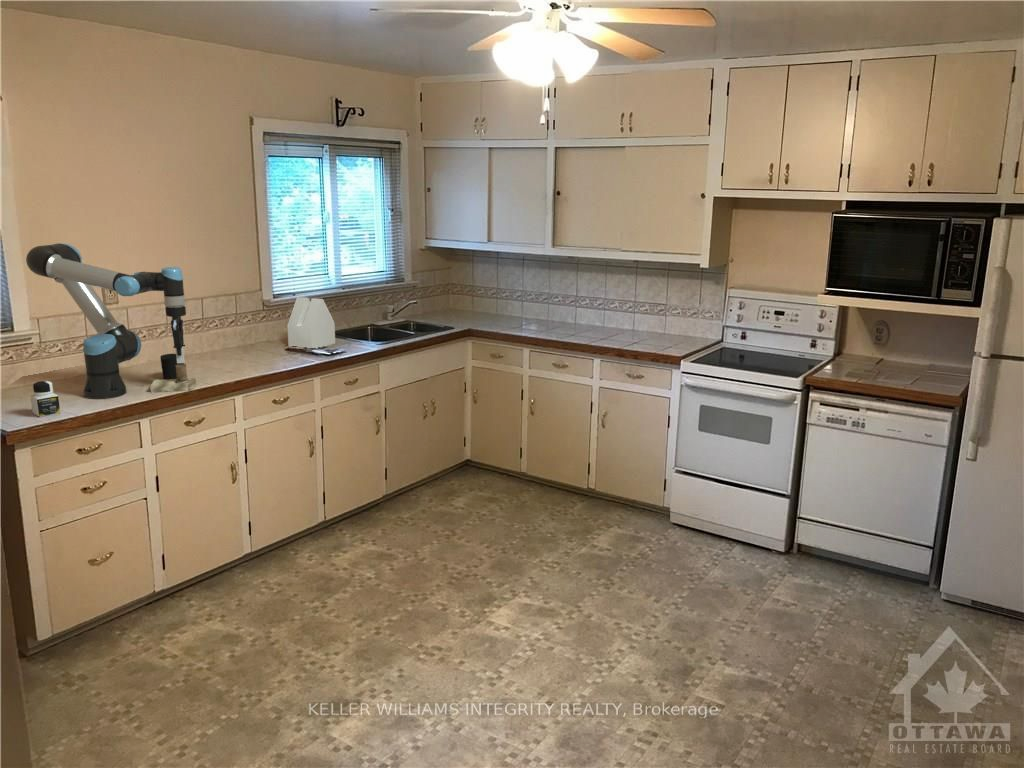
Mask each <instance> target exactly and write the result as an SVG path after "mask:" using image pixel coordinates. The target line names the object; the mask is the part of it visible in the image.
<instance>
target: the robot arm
mask: <svg viewBox="0 0 1024 768" xmlns="http://www.w3.org/2000/svg"><path fill="white" fill-rule="evenodd" d="M25 263H26V265H27V267H28V269H29V270H30V271H31V272H32V273H33V274H35V275H37V276H40V277H41V276H42V277H44V278H50V279H54V281H55V282H56V283H59V284H62V285H63V287H64V288H65V289H66V291H67V292H68V294H69V296H71V298H72V299H73V301H74V302H75V304H77V306H78V308H79V309H80V310H81V312H82V313H83V315H84V316H85V317H86V319H87V320H88V322H89V323H90V325H91V327H93V329H94V330H95V331H96V333H97V334H96V335H91V336H88V337H87V338H85V339H84V340H83V344H82V345H83V347H82V348H83V349H82V350H83V351H82V352H83V354H84V355H83V357H84V364H85V365H84V366H85V371H86V381H85V385H84V388H83V395H84V397H85V398H86V399H95V400H98V399H99V400H100V399H110V398H116V397H117V398H118V397H119V396H123V395H125V394H126V393H127V386H126V384H125V382H124V380H123V378H122V376H121V373H120V364H121V363H123V362H124V363H125V362H126V361H130V360H132V359H135V357H137V356H138V355H139V354H140V352H141V349H142V340H141V338H140V336H139V334H137V333H136V332H134V331H132V330H129V329H127V327H126V326H125V324H123V323H119V321H118V322H117V320H116V319H115V317H114V316H113V314H112V312H111V311H110V310H109V308H107V306H106V304H105V303H104V302H103V299H102V298H101V297H100V296H99V294H98V293H97V292H96V289H94V287H97V288H101V289H105V290H108V291H113V292H116V293H117V294H118V295H120V296H121V297H132V296H135V295H139V294H143V293H144V294H145V293H147V292H155V291H156V292H163V297H164V306H165V316H166V317H171V320H170V325H171V326H170V328H171V332H172V338H173V339H172V340H173V349H175V354H176V358H177V363H184V364H185V351H184V350H185V349H184V347H186V344H185V342H184V325H183V324H184V321H183V319H182V317H185V316H186V315H187V311H186V310H187V309H186V306H185V305H186V302H185V301H186V300H187V297H185V289H184V276H183V270H182V269H181V268H180V267H177V266H173V267H171V266H167V267H162V268H161V272H160V271H159V272H157V271H156V272H155V271H144V270H143V271H137V272H136V271H135V272H134V274H128V273H127V274H126V273H123V272H120V271H115V270H111V269H107V268H103V267H100V266H99V267H98V266H96V265H91V264H87V263H83V261H82V255H81V252H80V251H79V250H78V249H77V248H76V247H75V246H74V245H71V244H68V243H61V242H59V243H53V244H47V245H46V244H45V245H37V246H35V247H33V248H31V249H30V250H29V251H28V253H27V255H26V258H25Z"/></svg>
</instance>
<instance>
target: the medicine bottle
mask: <svg viewBox="0 0 1024 768" xmlns="http://www.w3.org/2000/svg"><path fill="white" fill-rule="evenodd" d="M32 388H33V394H31V395H30V396H29V397H30V403H31V408H32V409H31V410H32V414H33V413H34V414H33V415H35V416H37V417H38V416H39V418H41V417H40V416H44V417H47V416H46V415H49V416H53V415H52V414H55V415H58V414H57V413H60V414H61V407H60V399H59V395H58V394H56V393H55V392H54V387H53V382H51V381H50V380H49V381H48V380H42V381H41V380H40V381H36V382H35V383H33V384H32Z"/></svg>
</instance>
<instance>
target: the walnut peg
mask: <svg viewBox="0 0 1024 768" xmlns="http://www.w3.org/2000/svg"><path fill="white" fill-rule="evenodd" d="M176 375H177V383H188V380H187V379H188V369H187V364H186V363H184V364H177V365H176Z"/></svg>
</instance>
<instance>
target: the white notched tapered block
mask: <svg viewBox="0 0 1024 768" xmlns="http://www.w3.org/2000/svg"><path fill="white" fill-rule="evenodd" d="M286 327H287V342H288V347H289V346H298V347H307V348H316V349H319V348H318V347H320V348H323V346H324V347H326V346H331V345H333V344H336V328H335V321H334V319H333V316H332V314H331V312H330V310H329V309H328V306H327V304H326V302H325V299H323V298H315V297H314V298H311V300H310V299H309V297H306V296H305V297H304V296H297V297H296V299H295V302H294V304H293V309H292V311H291V313H290V317H289V320H288V322H287V326H286Z"/></svg>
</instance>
